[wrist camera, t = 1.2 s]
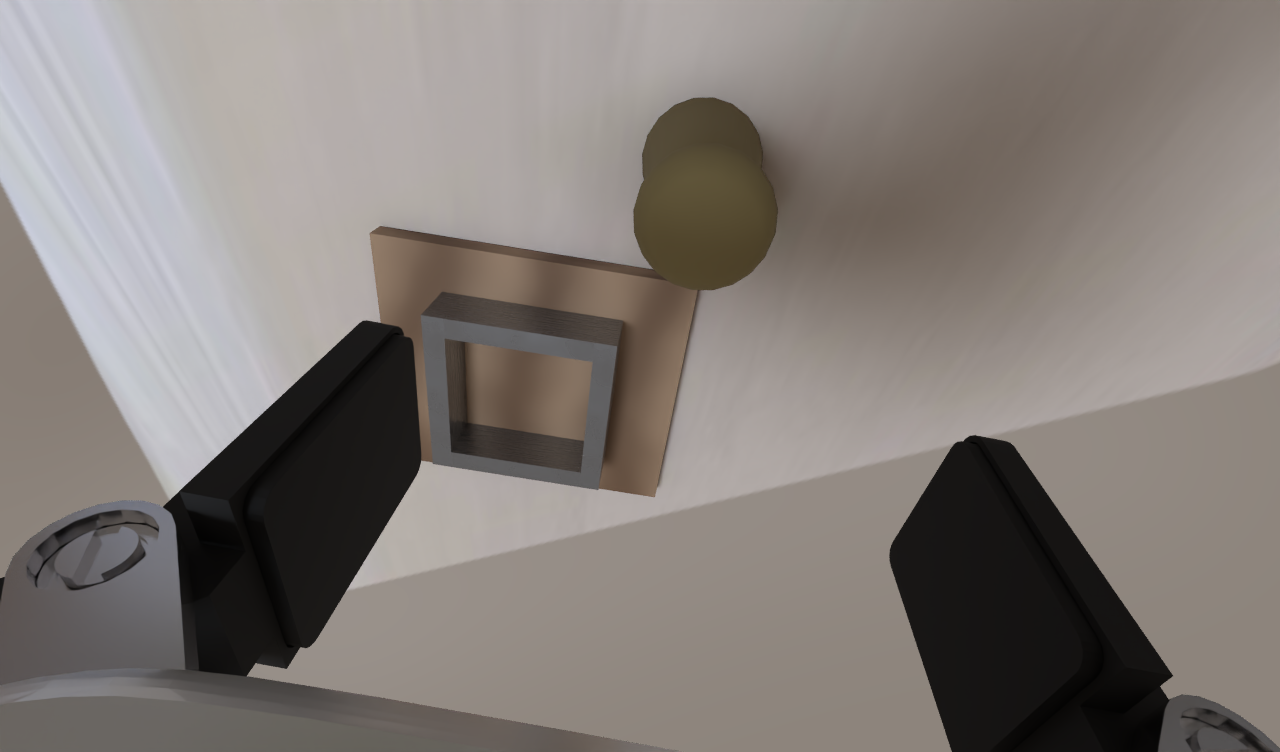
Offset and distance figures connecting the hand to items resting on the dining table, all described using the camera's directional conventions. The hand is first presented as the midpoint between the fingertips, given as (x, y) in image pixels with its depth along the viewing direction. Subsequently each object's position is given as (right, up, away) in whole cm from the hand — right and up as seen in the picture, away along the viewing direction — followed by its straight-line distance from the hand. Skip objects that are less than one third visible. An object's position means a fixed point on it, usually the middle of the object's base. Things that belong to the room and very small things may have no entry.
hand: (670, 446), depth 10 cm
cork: (+3, +12, +19) cm, 23 cm away
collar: (-7, +1, +25) cm, 26 cm away
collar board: (-7, +2, +26) cm, 27 cm away
